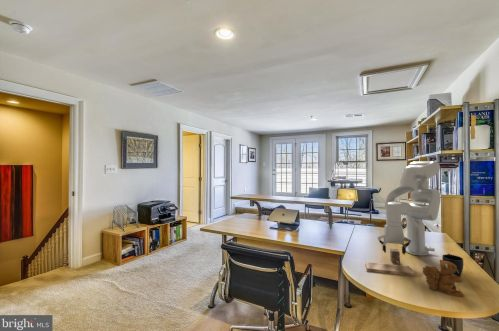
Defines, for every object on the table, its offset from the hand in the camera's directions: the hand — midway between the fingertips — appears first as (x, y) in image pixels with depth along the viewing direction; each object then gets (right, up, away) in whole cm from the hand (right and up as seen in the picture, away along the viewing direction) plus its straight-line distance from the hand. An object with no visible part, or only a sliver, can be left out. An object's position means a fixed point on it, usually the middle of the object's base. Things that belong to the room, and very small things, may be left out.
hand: (393, 252), depth 142 cm
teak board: (-9, -6, -10) cm, 14 cm away
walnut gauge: (0, -6, -2) cm, 6 cm away
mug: (+20, -5, -17) cm, 27 cm away
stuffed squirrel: (+4, -6, -31) cm, 32 cm away
